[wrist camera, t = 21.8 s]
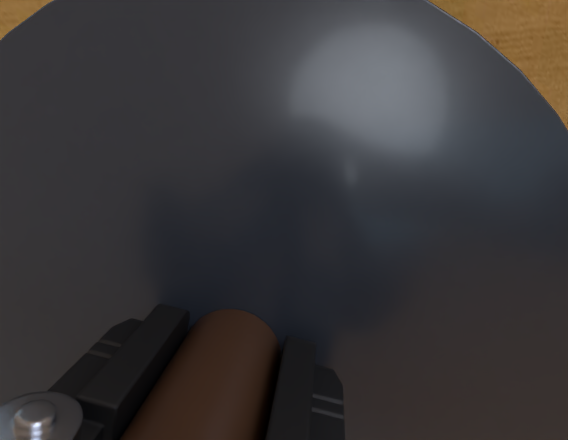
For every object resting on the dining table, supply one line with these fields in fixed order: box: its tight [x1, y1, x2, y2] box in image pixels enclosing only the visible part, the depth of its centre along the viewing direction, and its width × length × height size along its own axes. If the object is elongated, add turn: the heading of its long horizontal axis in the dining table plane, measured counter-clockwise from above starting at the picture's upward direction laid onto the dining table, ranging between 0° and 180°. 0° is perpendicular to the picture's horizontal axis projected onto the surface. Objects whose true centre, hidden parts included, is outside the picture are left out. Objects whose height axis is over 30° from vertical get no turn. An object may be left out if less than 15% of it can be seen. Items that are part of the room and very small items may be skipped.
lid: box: [0, 0, 568, 440], centre depth 9 cm, size 18×18×6 cm
